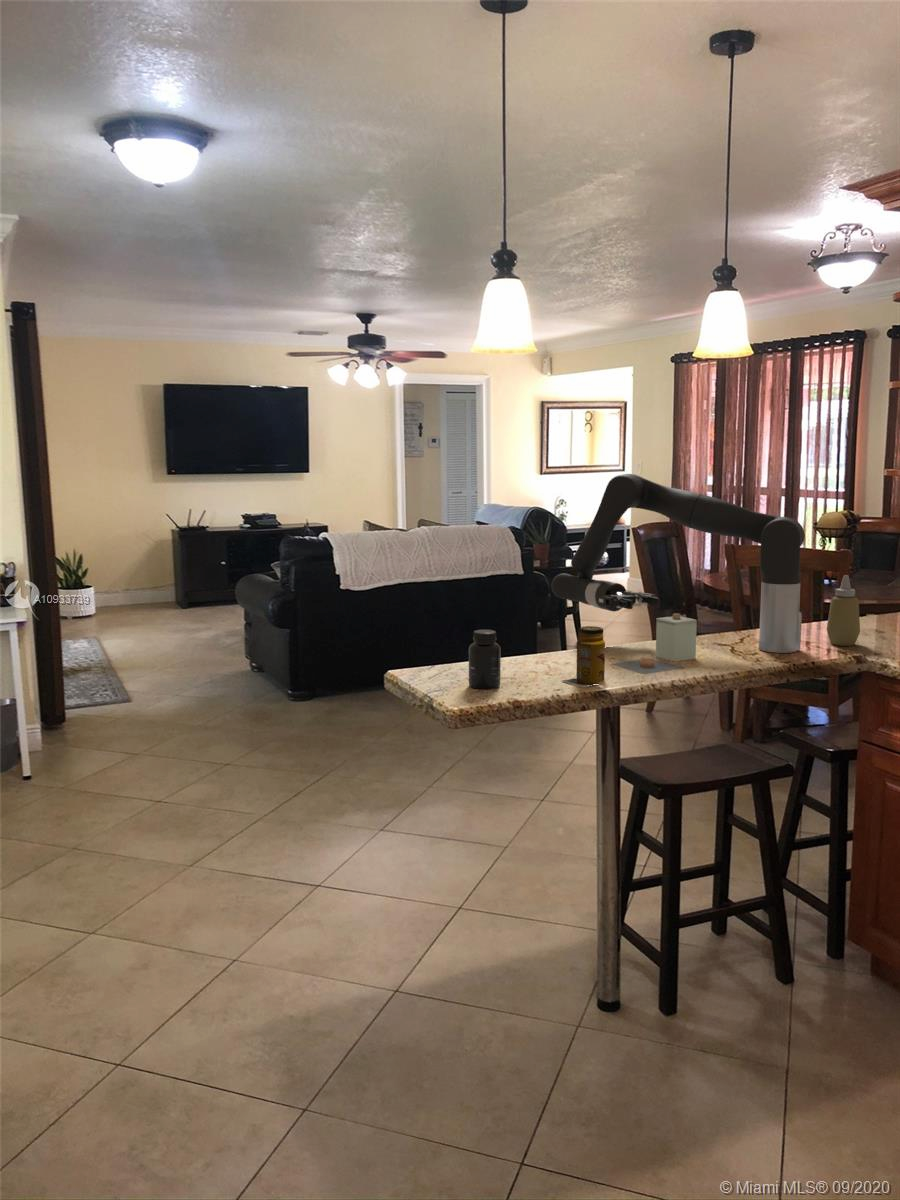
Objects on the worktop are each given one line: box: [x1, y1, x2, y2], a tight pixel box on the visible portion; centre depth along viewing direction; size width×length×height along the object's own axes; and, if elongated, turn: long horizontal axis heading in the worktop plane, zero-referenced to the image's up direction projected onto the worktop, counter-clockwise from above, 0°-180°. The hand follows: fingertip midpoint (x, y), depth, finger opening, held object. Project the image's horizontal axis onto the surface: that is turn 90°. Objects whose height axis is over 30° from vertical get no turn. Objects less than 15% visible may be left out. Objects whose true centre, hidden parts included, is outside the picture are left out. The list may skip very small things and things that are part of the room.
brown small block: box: [639, 656, 656, 667], centre depth 208 cm, size 3×3×2 cm
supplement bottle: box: [468, 629, 502, 691], centre depth 193 cm, size 7×7×12 cm
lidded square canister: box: [655, 612, 698, 662], centre depth 217 cm, size 7×7×11 cm
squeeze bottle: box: [826, 574, 861, 647], centre depth 233 cm, size 8×8×18 cm
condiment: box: [560, 625, 606, 688], centre depth 195 cm, size 7×8×12 cm
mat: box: [611, 659, 684, 675], centre depth 209 cm, size 12×12×1 cm
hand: (645, 603), depth 226 cm, fingers open, 8 cm apart
